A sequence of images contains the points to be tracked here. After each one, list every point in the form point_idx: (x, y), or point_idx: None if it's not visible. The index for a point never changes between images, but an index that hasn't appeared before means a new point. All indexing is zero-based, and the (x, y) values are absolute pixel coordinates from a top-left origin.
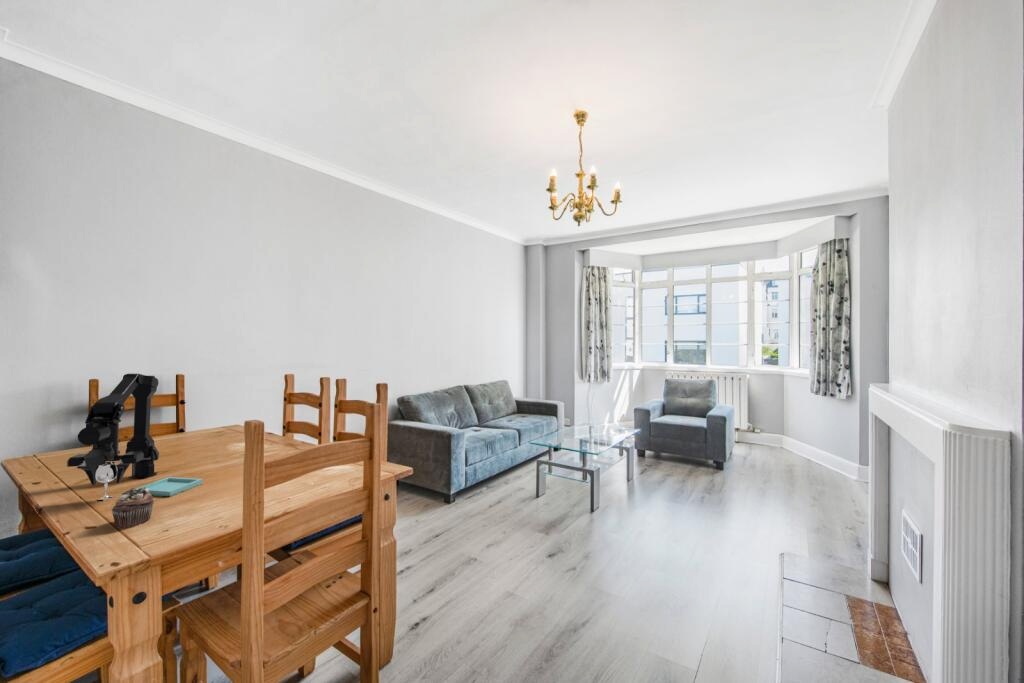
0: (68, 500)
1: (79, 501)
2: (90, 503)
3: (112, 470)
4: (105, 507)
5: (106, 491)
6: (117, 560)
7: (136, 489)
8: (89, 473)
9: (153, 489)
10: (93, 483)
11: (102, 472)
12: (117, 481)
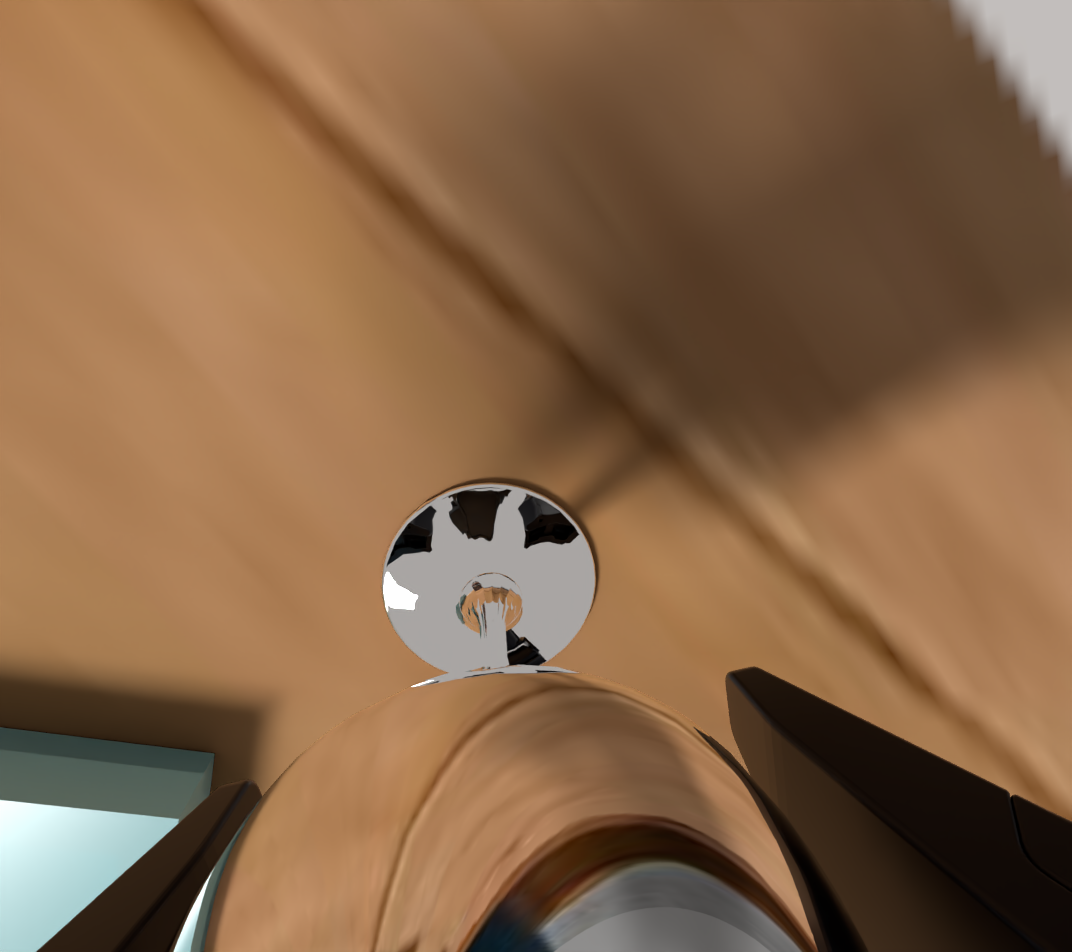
0: (976, 534)
1: (801, 488)
2: (574, 392)
3: None
4: (147, 163)
5: (481, 646)
6: None
7: (118, 816)
8: (1059, 892)
9: (8, 908)
10: (743, 690)
11: (379, 945)
12: (209, 816)
